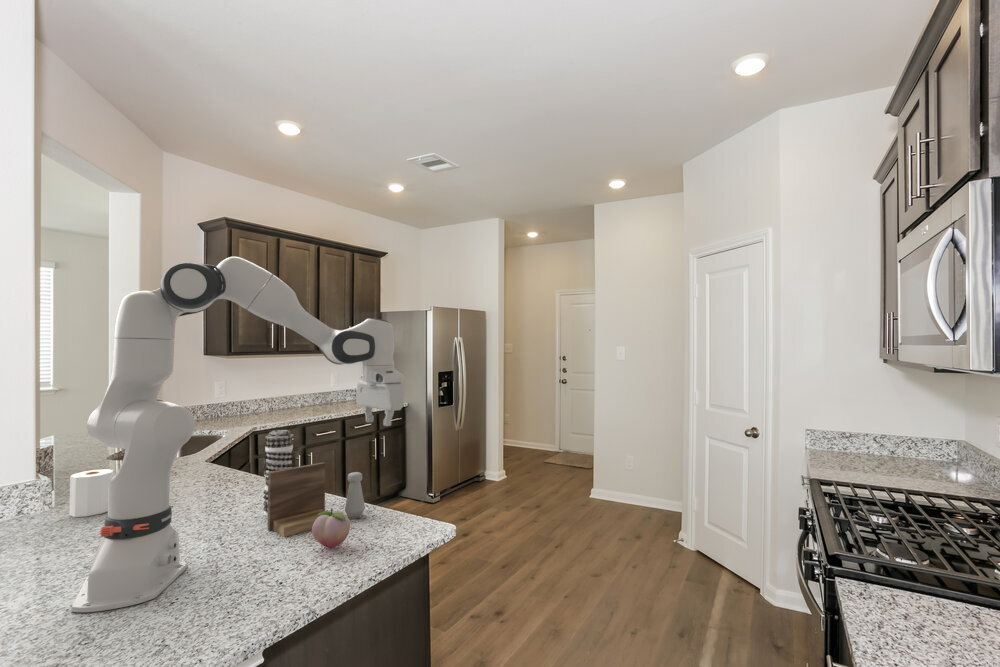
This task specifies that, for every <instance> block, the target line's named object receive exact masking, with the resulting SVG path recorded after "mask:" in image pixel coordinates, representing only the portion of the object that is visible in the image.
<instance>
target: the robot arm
mask: <svg viewBox="0 0 1000 667" xmlns="http://www.w3.org/2000/svg"><path fill="white" fill-rule="evenodd" d="M217 300H227V301H230V302H232V303H235V304H236V305H238V306H240V307H242V308H243V309H244V310H247V311H248V312H249V313H252V314H253V315H255V316H257V317H258V318H261V319H264V320H265V321H268V322H271V323H273V324H276V325H279V326H283V327H285V328H287V329H290V330H291V331H294V332H295V333H297V334H298V335H299V336H302V337H303V338H305V339H306V340H308V341H309V342H310V343H312V344H314V345H315V346H316V347H318V349H319V350H320V352H321V353H322V355H323V356H324V357H325V359H326V360H328V362H330V363H332V364H334V365H341V366H342V365H354V364H356V363H359V362H360V363H361V362H362V374H361V376H360V378H359V381H358V382H357V385H356V394H355V402H356V405H357V406H360V407H362V406H363V412H364V415H365V422H366V423H373V422H374V421H375V420H374V418H375V416H374V415H373V412H372V410H373V409H379V410H384V414H385V416H384V418H383V419H382V425H383V426H384V427H391V426H392V419H393V417H394V414H395V411H401V410H402V408H403V406H404V399H405V398H404V397H405V396H404V395H405V394H404V393H405V392H404V390H405V389H404V385H403V383H404V382H405V375H404V374H403V373H401V372H400V371H398V370H397V369H396V368H395V361H394V353H395V333H394V331H395V330H394V328H393V327H394V326H393V324H391V322H390V321H389V320H384V319H380V318H373V317H371V318H370V317H369V318H366V319H365V320H364V321H362V322H361V323H358V324H356V325H354V326H351V327H349V328H345V329H335V328H332V327H330V326H328V324H325V323H324V322H322V321H320V319H318V318H316V317H315V316H314V315H312V314H311V313H309V312H308V311H307V310H305V309H304V308H303V306H302V304H301V303H300V301H299V299H298V297H297V293H296V292H295V291H294V290H293V289H292V288H291V287H290V286H289V285H288V284H287V283H285V282H284V281H283V280H281V279H280V278H279V277H278V276H277V275H274V274H273V273H272V272H270V271H268V270H266V269H265V268H263V267H261V266H259V265H257V264H255V263H253V262H251V261H249V260H247V259H245V258H242V257H239V256H230V257H227V258H225V259H223V260H221V261H220V262H219V263H218V264H217V265H214V264H205V263H197V262H189V261H188V262H179V263H177V264H174V265H172V266H171V267H169V268H167V270H166V271H165V272H164V273H163V275H162V277H161V280H160V287H159V288H157V289H154V290H150V291H149V290H140V291H139V290H137V291H134V292H130V293H129V294H127V295H125V296H124V297H123V298H122V300H121V303H120V306H119V308H118V312H117V315H116V321H115V327H114V328H115V329H114V339H113V340H114V341H113V356H112V370H111V376H110V379H109V382H108V385H107V388H106V391H105V393H104V396H103V398H102V400H101V402H100V403H99V405H98V406H97V407H96V408H95V409H94V410H93V411H92V412H91V413H90V415H89V417H88V419H87V422H86V428H87V432H88V433H87V434H89V436H90V437H91V438H92V439H93V440H94V441H96V442H98V443H99V444H100V443H101V444H103V445H105V446H107V447H108V448H109V447H110V448H115V449H124V455H123V458H122V462H121V464H120V467H119V469H118V471H117V472H116V473H113V476H112V478H111V479H110V481H109V490H108V511H107V516H106V517H105V518H104V519H105V520H104V523H103V526H102V527H101V529H100V530H99V531H100V532H99V534H100V537H101V538H102V537H103V538H102V539H101V540H100V541H99V546H98V547H97V550H96V553H95V555H94V558H93V561H92V563H91V566H90V569H89V573H88V575H87V577H86V578H85V579H84V582H83V583H82V585H81V587H80V589H79V591H78V593H77V595H76V597H75V599H74V600H73V602H72V604H71V610H70V612H72V613H94V612H95V613H96V612H102V611H110V610H114V609H119V608H125V607H130V606H135V605H138V604H142V603H145V602H148V601H150V600H154V599H156V598H157V597H158V596H159V595H160V594H162V592H163V591H165V590H166V589H167V588H168V587H169V586H170V585H171V584H172V583H173V582H174V581H175V580H176V579H177V578H179V576H180V575H181V574H183V573H184V572H185V571H186V570H187V569H188V568H189V567H188V563H187V561H181V560H180V559H181V557H180V536H179V531H178V530H176V529H175V528H174V527H173V526H172V525H171V522H172V516H173V511H172V506H171V505H170V494H171V493H170V492H171V490H170V489H171V474H172V470H173V467H174V466H173V465H174V463H175V460H176V458H177V455H178V453H179V451H180V450H181V448H182V447H183V446H184V445H185V444H186V443H188V442H189V440H190V439H191V438H192V436H193V434H194V432H195V427H196V425H195V424H196V423H195V422H196V421H195V418H194V415H193V413H192V411H190V410H189V409H188V408H186V407H185V406H182V405H180V404H177V403H173V402H170V401H162V400H158V396H159V392H160V390H161V388H162V386H163V384H164V383H165V381H167V380H168V379H170V377H171V375H172V374H173V372H174V371H173V370H174V360H175V359H174V357H175V356H174V355H175V331H176V323H177V320H178V318H179V317H184V316H188V315H193V314H199V313H201V312H204V311H206V310H207V309H209V308H210V307H211V306H212V305H213V303H214V302H215V301H217Z"/></svg>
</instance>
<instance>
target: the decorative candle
mask: <svg viewBox="0 0 1000 667" xmlns="http://www.w3.org/2000/svg"><path fill="white" fill-rule="evenodd" d="M293 436H294V434H292V433H291V431H290V430H288V429H276V430H275V429H274V430H272V431H269V433H268V434H267V435H266V436H265V447H264V448H265V449H263V450H262V452H263V453H262V457H263V458H264V459H263V461H262V462H263V467H262V468H263V470H264V471H263V476H264V477H265V484H264V490H263V495H264V496H263V499H264V501H263V504H262V505H263V508H262V510H263V515H264V516H265V517H268V472H272V471H277V470H283V469H288V468H294V467H295V463H293V462H292V461H294V460H296V457H294V455H295V454H296V452H295V451H294V450H293V448H294V444H293Z"/></svg>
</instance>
